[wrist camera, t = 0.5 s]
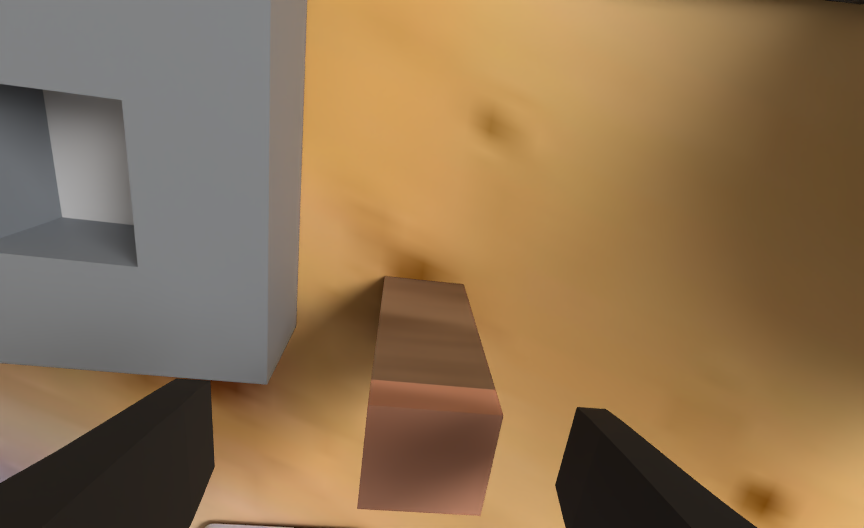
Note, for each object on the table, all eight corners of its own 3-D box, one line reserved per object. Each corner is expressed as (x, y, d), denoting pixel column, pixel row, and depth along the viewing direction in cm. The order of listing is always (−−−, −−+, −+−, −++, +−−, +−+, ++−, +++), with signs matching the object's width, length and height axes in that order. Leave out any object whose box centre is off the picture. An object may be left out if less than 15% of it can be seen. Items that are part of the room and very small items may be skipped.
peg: (451, 352, 19) (480, 515, 12) (377, 345, 19) (357, 508, 11) (463, 284, 18) (503, 415, 10) (384, 276, 18) (367, 405, 10)
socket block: (296, 326, 18) (267, 384, 14) (-21, 296, 17) (-141, 351, 13) (307, -6, 14) (271, -44, 10) (-106, -73, 13) (-312, -142, 9)
